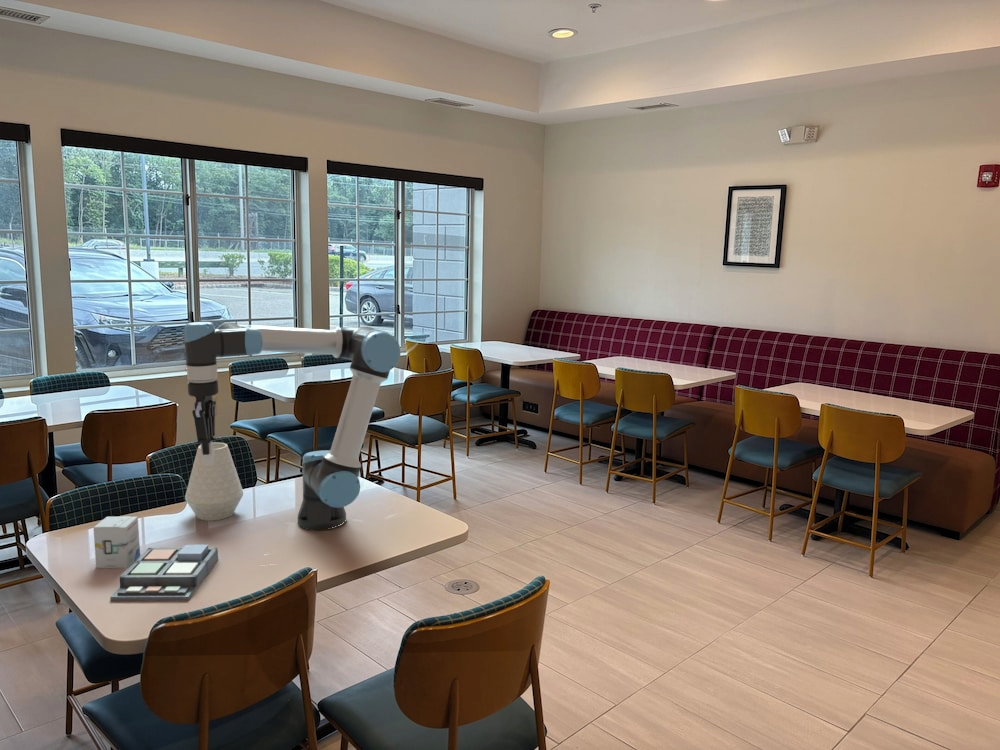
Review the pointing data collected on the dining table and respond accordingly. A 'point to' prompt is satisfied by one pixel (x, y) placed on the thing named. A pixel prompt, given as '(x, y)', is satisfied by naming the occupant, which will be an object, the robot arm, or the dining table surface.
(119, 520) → the ink box
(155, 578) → the keypad
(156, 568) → the key sage
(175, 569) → the key cream
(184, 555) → the key slate
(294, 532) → the dining table surface
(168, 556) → the key terracotta
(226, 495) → the vase
